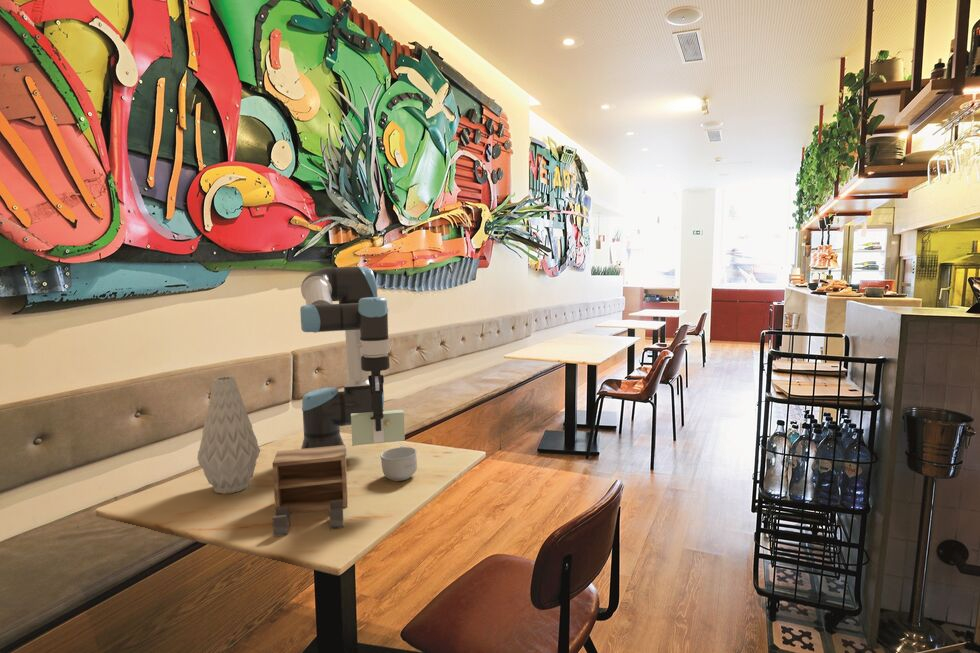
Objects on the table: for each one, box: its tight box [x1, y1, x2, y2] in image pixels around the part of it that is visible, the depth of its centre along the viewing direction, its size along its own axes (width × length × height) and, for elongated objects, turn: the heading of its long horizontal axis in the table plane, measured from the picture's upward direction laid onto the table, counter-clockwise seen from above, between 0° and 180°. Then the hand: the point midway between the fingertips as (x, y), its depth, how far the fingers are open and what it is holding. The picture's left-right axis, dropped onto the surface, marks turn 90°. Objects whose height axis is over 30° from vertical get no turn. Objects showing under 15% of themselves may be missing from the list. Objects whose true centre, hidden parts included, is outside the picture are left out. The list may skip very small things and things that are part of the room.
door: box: [350, 409, 406, 447], centre depth 151 cm, size 4×14×8 cm, turn 104°
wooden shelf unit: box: [272, 444, 348, 537], centre depth 144 cm, size 22×18×14 cm
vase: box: [197, 376, 261, 495], centre depth 161 cm, size 17×17×33 cm
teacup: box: [380, 445, 418, 482], centre depth 170 cm, size 14×11×8 cm
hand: (378, 439), depth 152 cm, fingers closed on door, 3 cm apart
